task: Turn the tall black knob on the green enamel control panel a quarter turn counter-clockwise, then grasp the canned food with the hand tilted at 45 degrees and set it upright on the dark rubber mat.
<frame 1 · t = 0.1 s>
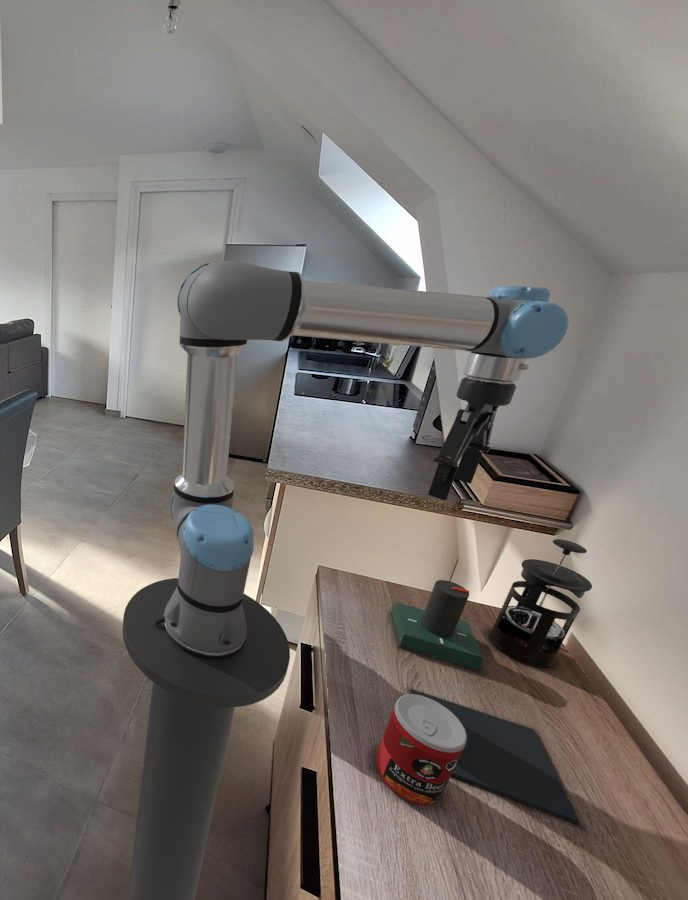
hand: (450, 488, 87), 27 cm above the sideboard, tool pointing down, fingers open, 13 cm apart
mat: (482, 748, 66), on the sideboard
knob: (444, 607, 84), point 8 cm above the sideboard, hinge at 0.0°
panel: (431, 640, 87), on the sideboard
canned food: (405, 777, 62), on the sideboard
french press: (518, 647, 86), on the sideboard
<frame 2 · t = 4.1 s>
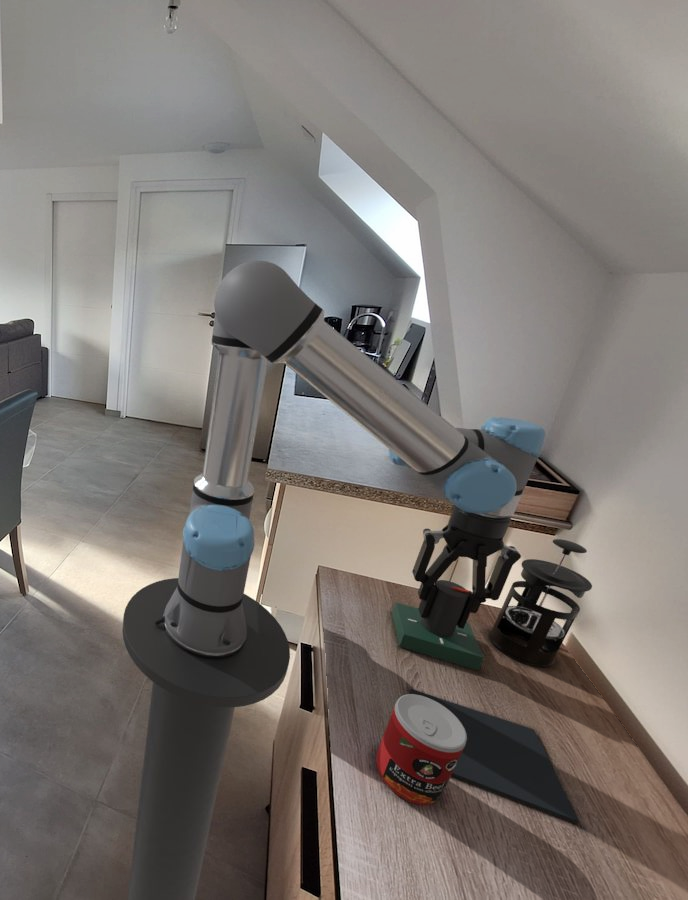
hand: (440, 618, 85), 5 cm above the sideboard, tool pointing down, fingers closed on knob, 5 cm apart
knob: (444, 607, 84), point 8 cm above the sideboard, hinge at 0.0°, touching gripper
everything else where it was.
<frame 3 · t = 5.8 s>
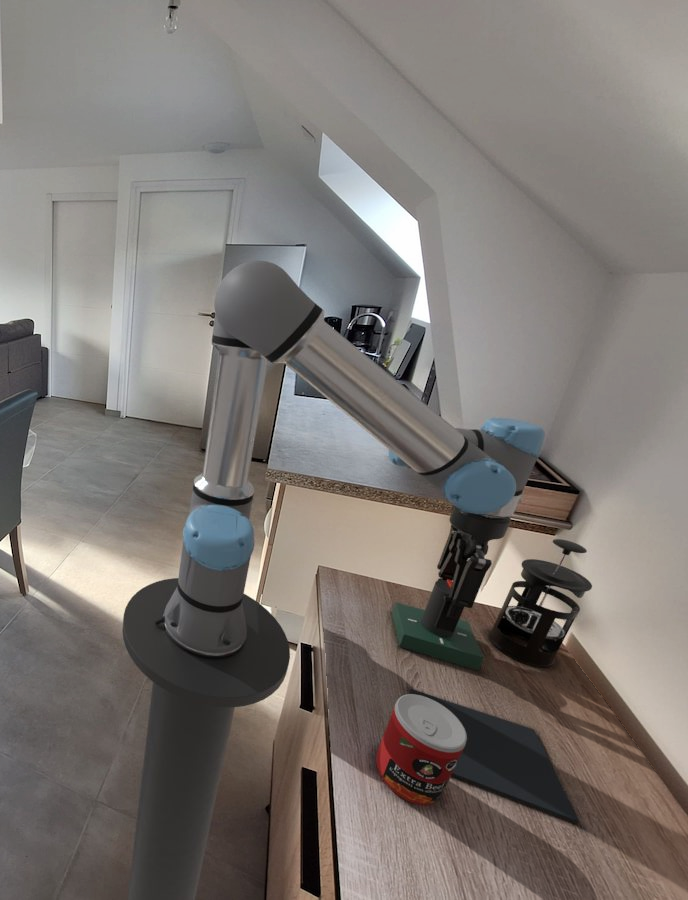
hand: (440, 618, 85), 5 cm above the sideboard, tool pointing down, fingers open, 5 cm apart
knob: (444, 607, 84), point 8 cm above the sideboard, hinge at 90.8°
everything else where it was.
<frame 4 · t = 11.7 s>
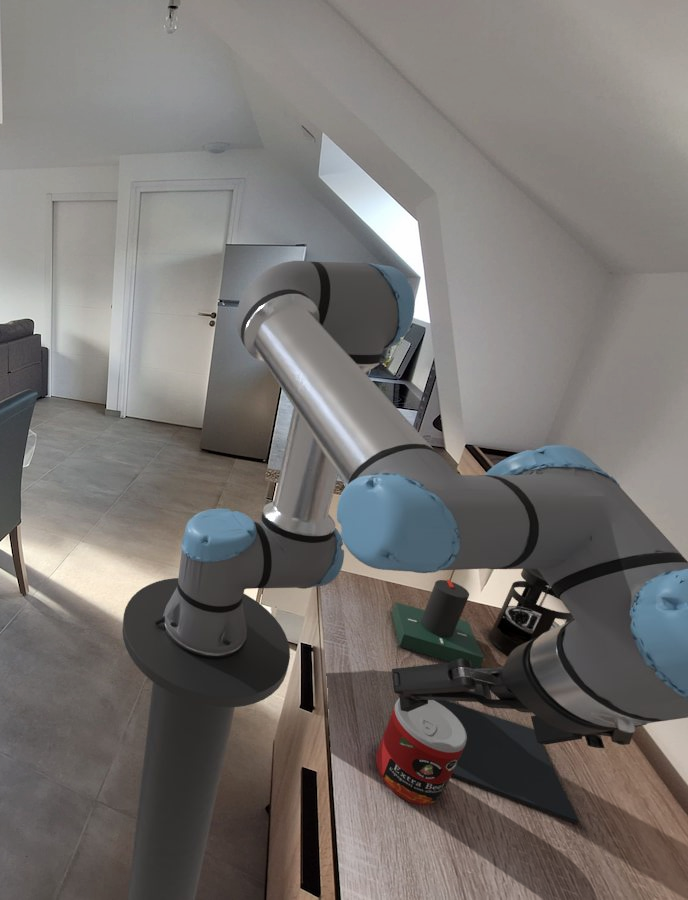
hand: (467, 714, 55), 15 cm above the sideboard, tool tilted 35°, fingers open, 13 cm apart
nothing on the sideboard moved.
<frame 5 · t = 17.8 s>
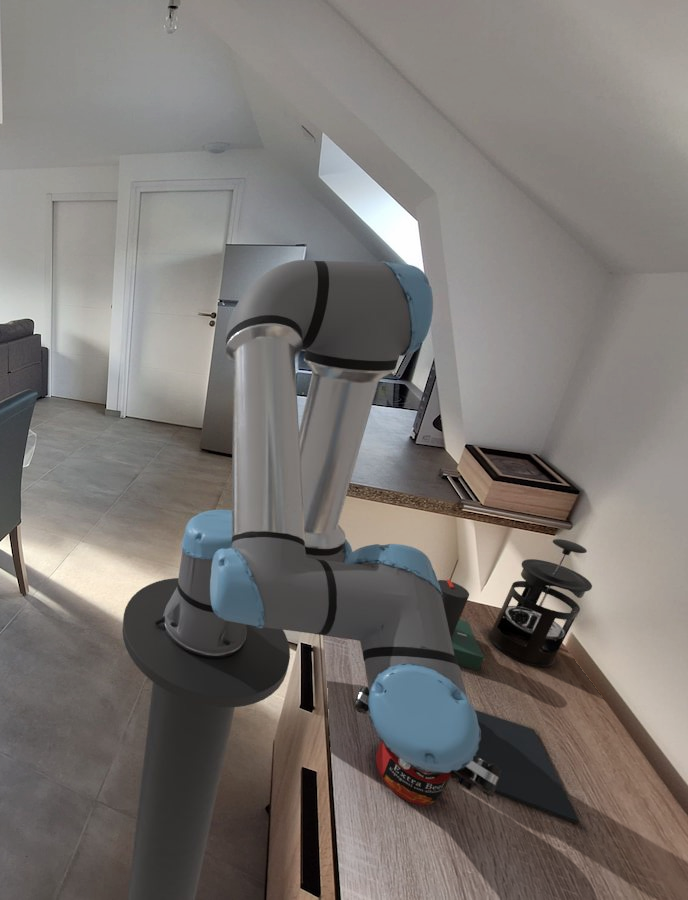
hand: (421, 743, 63), 4 cm above the sideboard, tool tilted 45°, fingers closed on canned food, 8 cm apart
canned food: (405, 777, 62), on the sideboard, touching gripper
everything else where it was.
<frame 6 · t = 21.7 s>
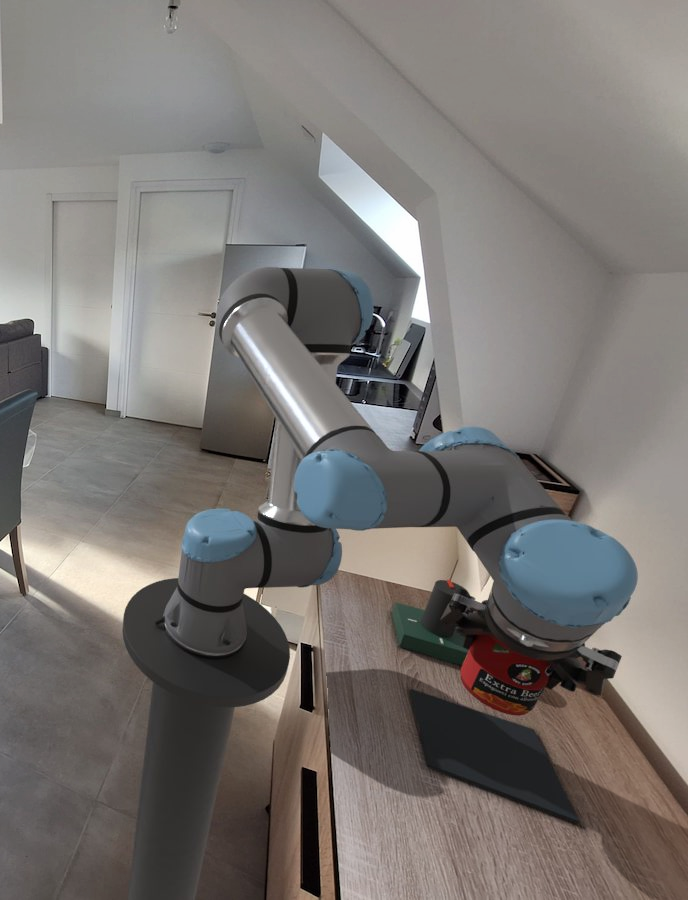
hand: (508, 658, 61), 17 cm above the sideboard, tool tilted 45°, fingers closed on canned food, 8 cm apart
canned food: (493, 692, 60), point 13 cm above the sideboard, touching gripper
everything else where it was.
when the fingers open (4 cm above the sideboard, at t = 25.9 s): canned food stays where it is, resting on mat.
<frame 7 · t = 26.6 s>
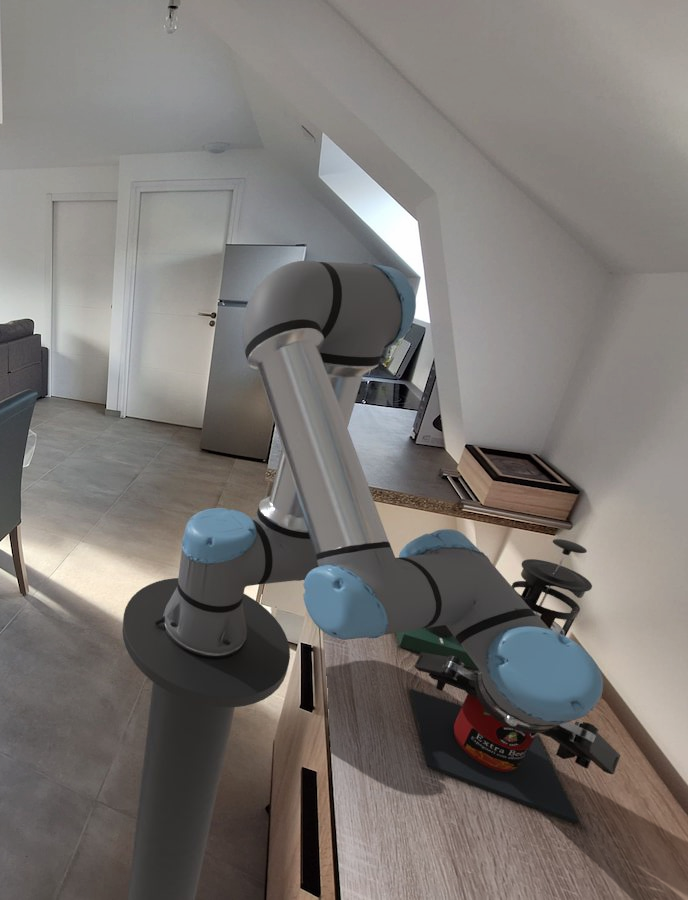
hand: (498, 712, 66), 5 cm above the sideboard, tool tilted 45°, fingers open, 13 cm apart
canned food: (483, 747, 66), resting on mat
everything else where it was.
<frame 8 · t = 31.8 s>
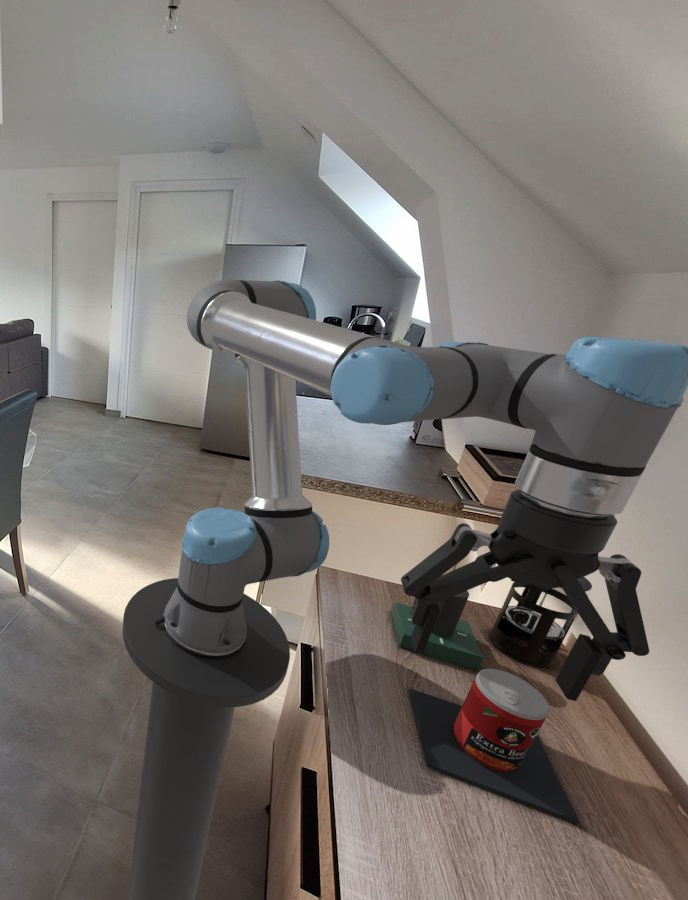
hand: (486, 667, 52), 23 cm above the sideboard, tool pointing down, fingers open, 13 cm apart
nothing on the sideboard moved.
at the end: knob at +91° (first picture: +0°); canned food inside the target area on the mat (0.1 cm from its centre), point 0.4 cm above the mat's base; canned food tilted 0° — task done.
